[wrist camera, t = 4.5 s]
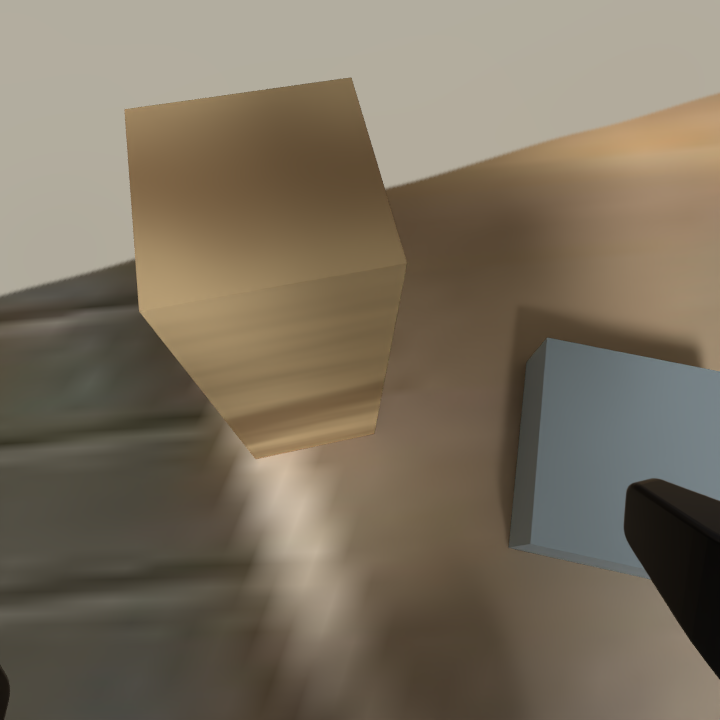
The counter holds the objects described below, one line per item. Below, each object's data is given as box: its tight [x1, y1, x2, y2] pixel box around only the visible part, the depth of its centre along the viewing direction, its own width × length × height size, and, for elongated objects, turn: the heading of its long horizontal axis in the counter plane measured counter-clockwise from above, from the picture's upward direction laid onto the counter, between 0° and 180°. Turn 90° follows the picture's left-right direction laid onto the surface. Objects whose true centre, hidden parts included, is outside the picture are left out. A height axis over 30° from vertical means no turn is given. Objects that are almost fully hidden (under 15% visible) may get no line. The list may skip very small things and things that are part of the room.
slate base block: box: [509, 338, 720, 579], centre depth 21 cm, size 8×8×3 cm
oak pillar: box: [125, 78, 407, 459], centre depth 17 cm, size 5×5×13 cm
